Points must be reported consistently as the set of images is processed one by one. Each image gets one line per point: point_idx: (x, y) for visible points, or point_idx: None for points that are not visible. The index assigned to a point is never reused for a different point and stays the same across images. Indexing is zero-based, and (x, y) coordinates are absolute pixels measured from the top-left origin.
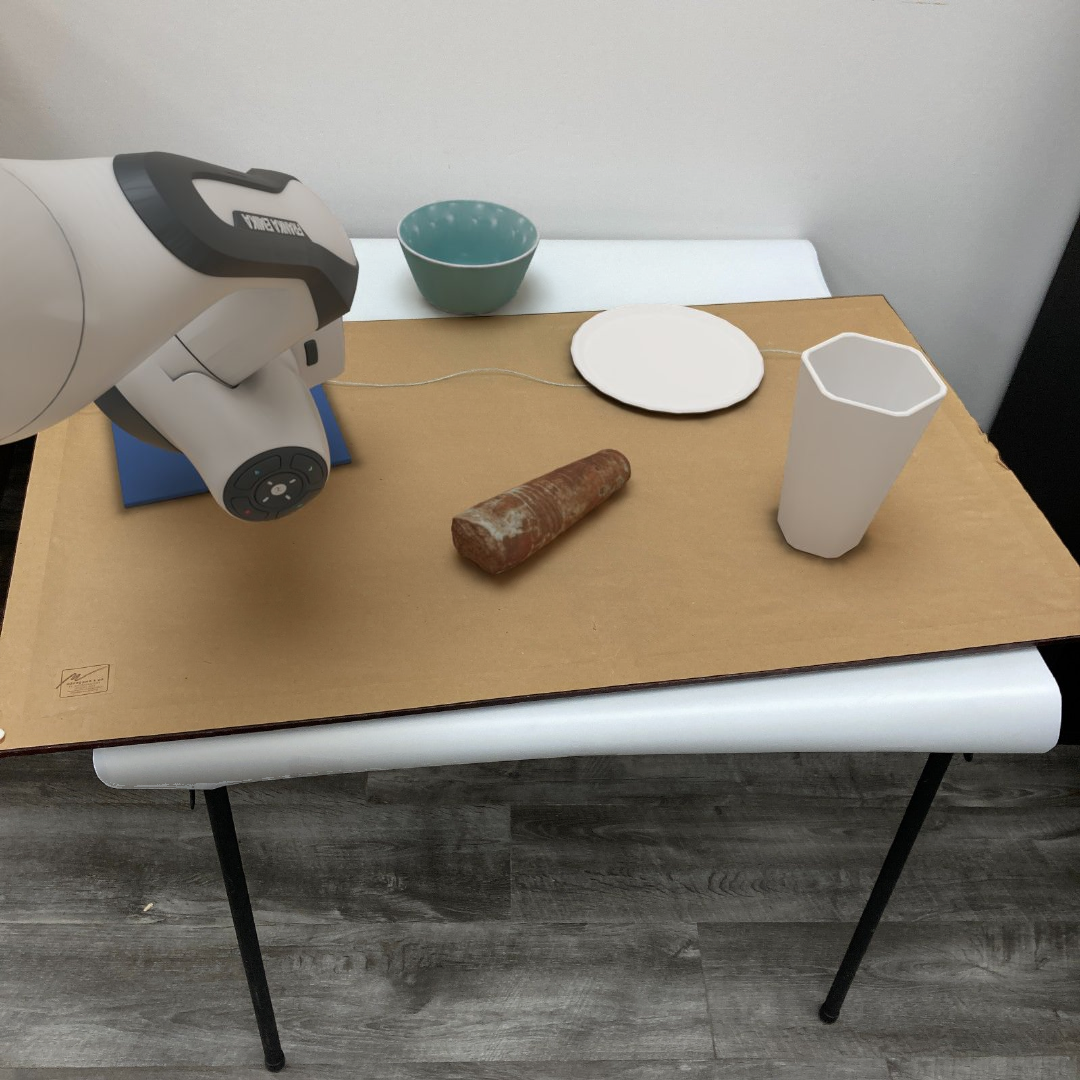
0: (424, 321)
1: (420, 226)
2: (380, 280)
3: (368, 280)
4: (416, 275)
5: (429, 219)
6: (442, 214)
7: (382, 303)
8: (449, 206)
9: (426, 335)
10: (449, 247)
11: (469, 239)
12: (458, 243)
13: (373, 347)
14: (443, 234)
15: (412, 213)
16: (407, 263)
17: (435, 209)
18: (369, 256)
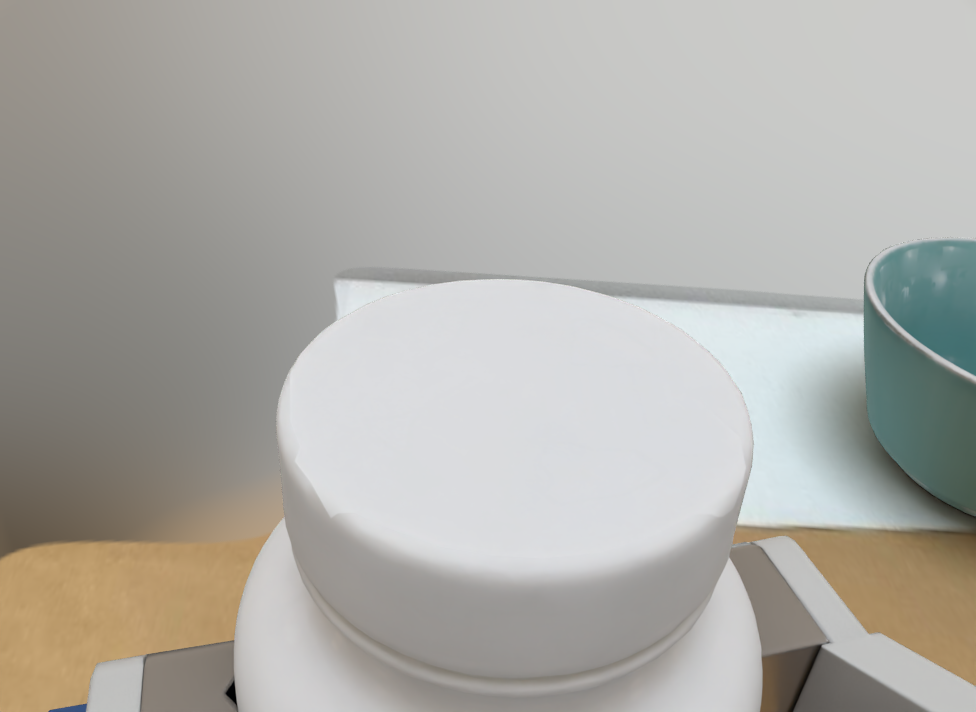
0: (920, 539)
1: (887, 295)
2: (754, 403)
3: None
4: (928, 426)
5: (903, 280)
6: (926, 270)
7: (786, 470)
8: (942, 253)
9: (953, 593)
10: (922, 342)
11: (970, 328)
12: (943, 335)
13: None
14: (918, 314)
15: (880, 265)
16: (886, 388)
17: (915, 258)
18: (707, 341)
